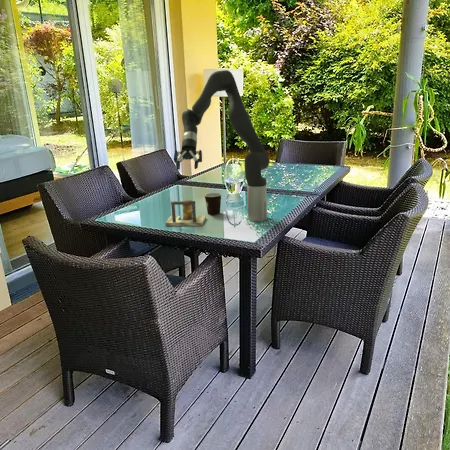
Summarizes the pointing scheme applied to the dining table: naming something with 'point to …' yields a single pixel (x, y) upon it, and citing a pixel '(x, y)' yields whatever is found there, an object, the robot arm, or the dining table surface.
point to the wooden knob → (187, 211)
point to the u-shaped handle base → (176, 220)
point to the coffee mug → (213, 203)
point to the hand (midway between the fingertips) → (186, 168)
